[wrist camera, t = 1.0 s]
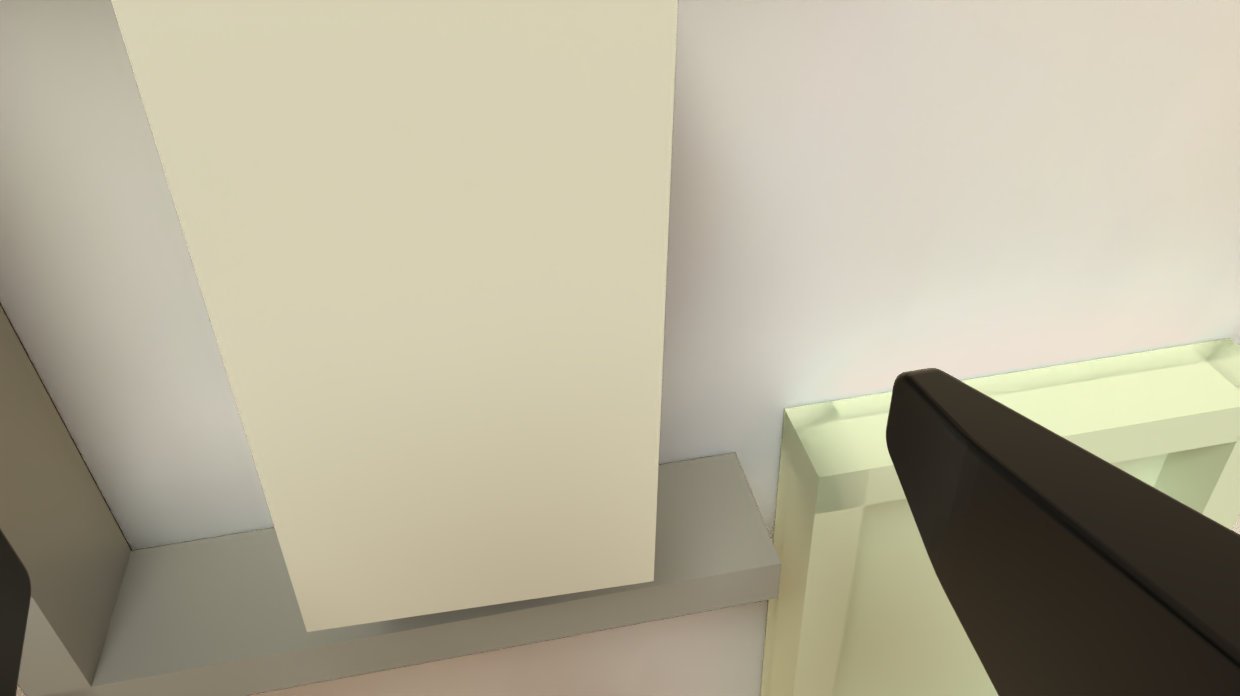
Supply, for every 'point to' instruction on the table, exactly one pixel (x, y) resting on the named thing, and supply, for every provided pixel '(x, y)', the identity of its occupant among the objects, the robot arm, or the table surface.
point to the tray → (892, 546)
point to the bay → (263, 592)
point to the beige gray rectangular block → (430, 280)
